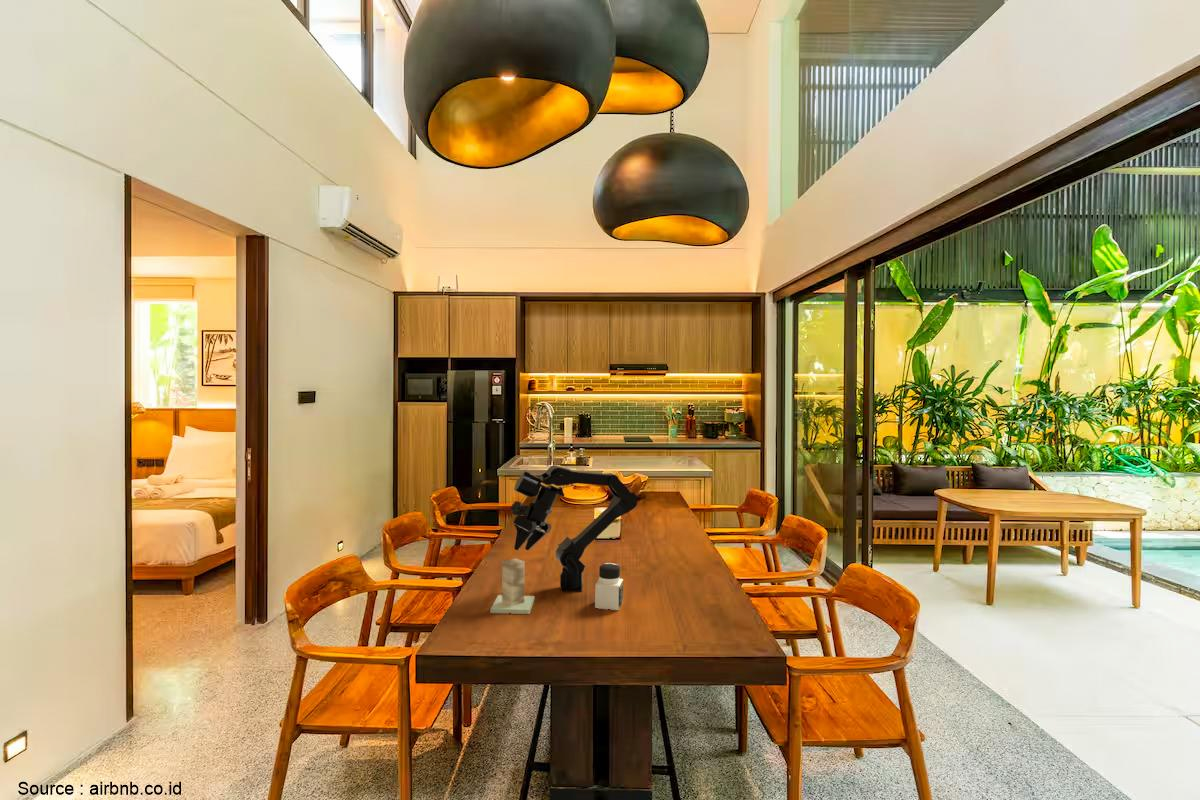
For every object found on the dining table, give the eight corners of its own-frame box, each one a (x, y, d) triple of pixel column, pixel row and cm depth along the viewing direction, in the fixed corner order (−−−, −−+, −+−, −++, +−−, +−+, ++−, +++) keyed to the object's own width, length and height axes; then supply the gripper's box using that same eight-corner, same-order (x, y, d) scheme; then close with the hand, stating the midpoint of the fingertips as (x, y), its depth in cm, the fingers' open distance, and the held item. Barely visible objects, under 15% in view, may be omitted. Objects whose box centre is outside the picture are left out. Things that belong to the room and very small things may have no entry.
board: (534, 599, 174) (534, 595, 174) (529, 613, 163) (529, 609, 163) (498, 599, 174) (498, 595, 174) (490, 613, 163) (490, 608, 163)
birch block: (514, 598, 172) (515, 558, 172) (524, 602, 169) (524, 561, 169) (502, 602, 169) (502, 561, 169) (511, 606, 165) (511, 564, 165)
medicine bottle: (619, 610, 166) (619, 569, 166) (594, 608, 168) (595, 567, 168) (623, 602, 173) (623, 562, 173) (599, 600, 175) (600, 560, 175)
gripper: (532, 495, 193) (511, 538, 191) (510, 489, 175) (487, 537, 173) (560, 509, 189) (539, 554, 187) (541, 505, 172) (518, 554, 170)
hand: (521, 549), depth 179 cm, fingers open, 9 cm apart
